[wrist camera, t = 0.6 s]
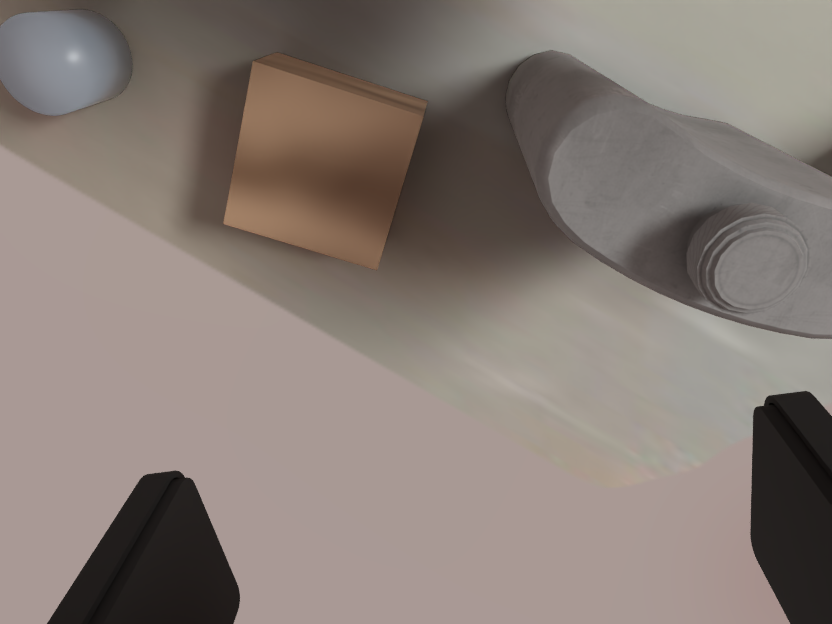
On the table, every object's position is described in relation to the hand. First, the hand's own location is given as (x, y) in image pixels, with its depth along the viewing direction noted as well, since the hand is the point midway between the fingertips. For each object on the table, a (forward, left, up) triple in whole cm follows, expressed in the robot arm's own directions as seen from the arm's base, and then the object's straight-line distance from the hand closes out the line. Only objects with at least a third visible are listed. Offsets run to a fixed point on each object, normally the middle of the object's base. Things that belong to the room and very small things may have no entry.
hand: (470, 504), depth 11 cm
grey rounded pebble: (+2, -22, -32) cm, 39 cm away
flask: (-3, +9, -32) cm, 33 cm away
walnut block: (+3, -7, -32) cm, 33 cm away
